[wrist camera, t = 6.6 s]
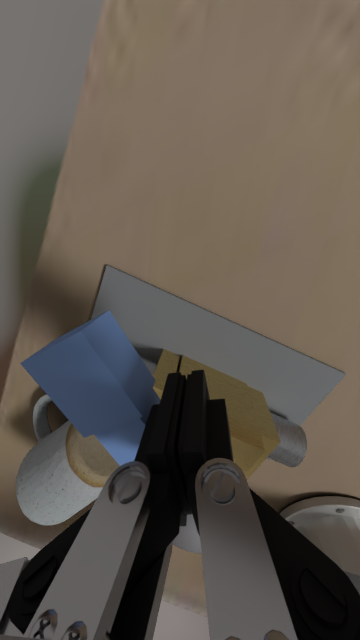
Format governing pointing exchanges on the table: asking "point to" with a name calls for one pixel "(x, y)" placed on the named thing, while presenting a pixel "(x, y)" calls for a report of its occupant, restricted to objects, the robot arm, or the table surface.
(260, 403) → the valve
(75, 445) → the ceramic mug
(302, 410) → the mat
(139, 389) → the lever
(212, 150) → the table surface
